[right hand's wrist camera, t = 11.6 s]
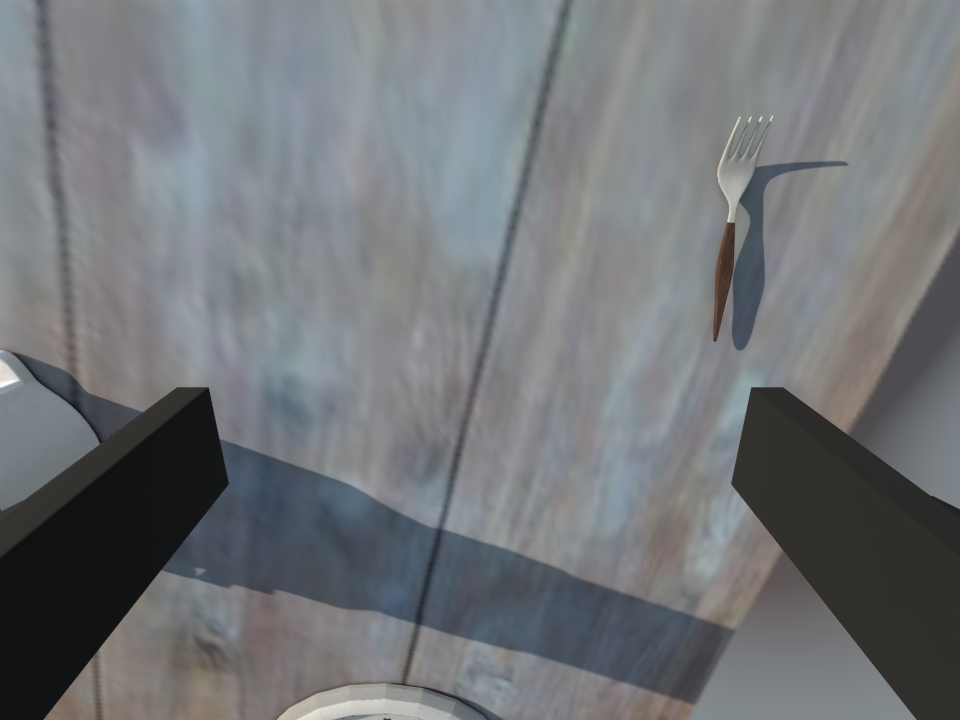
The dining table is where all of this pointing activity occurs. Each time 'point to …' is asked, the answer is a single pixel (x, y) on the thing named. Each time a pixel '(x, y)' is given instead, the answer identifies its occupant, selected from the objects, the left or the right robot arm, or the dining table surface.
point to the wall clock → (380, 705)
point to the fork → (733, 209)
